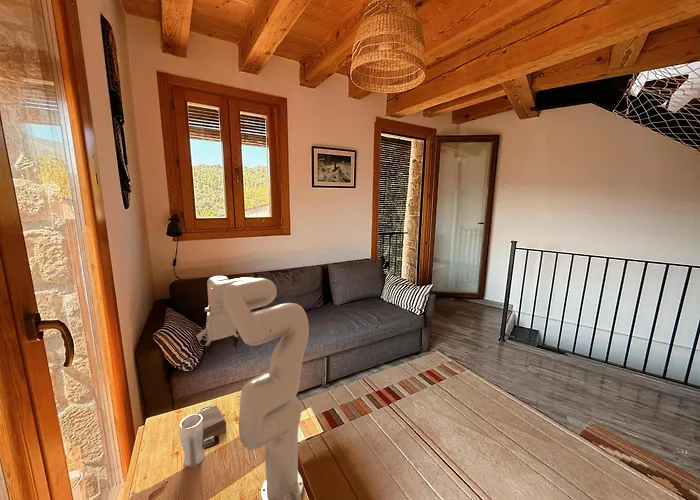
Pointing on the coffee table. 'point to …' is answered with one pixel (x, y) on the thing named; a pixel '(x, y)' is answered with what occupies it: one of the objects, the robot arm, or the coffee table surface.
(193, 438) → the beer glass
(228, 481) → the coffee table surface
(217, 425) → the plinth
